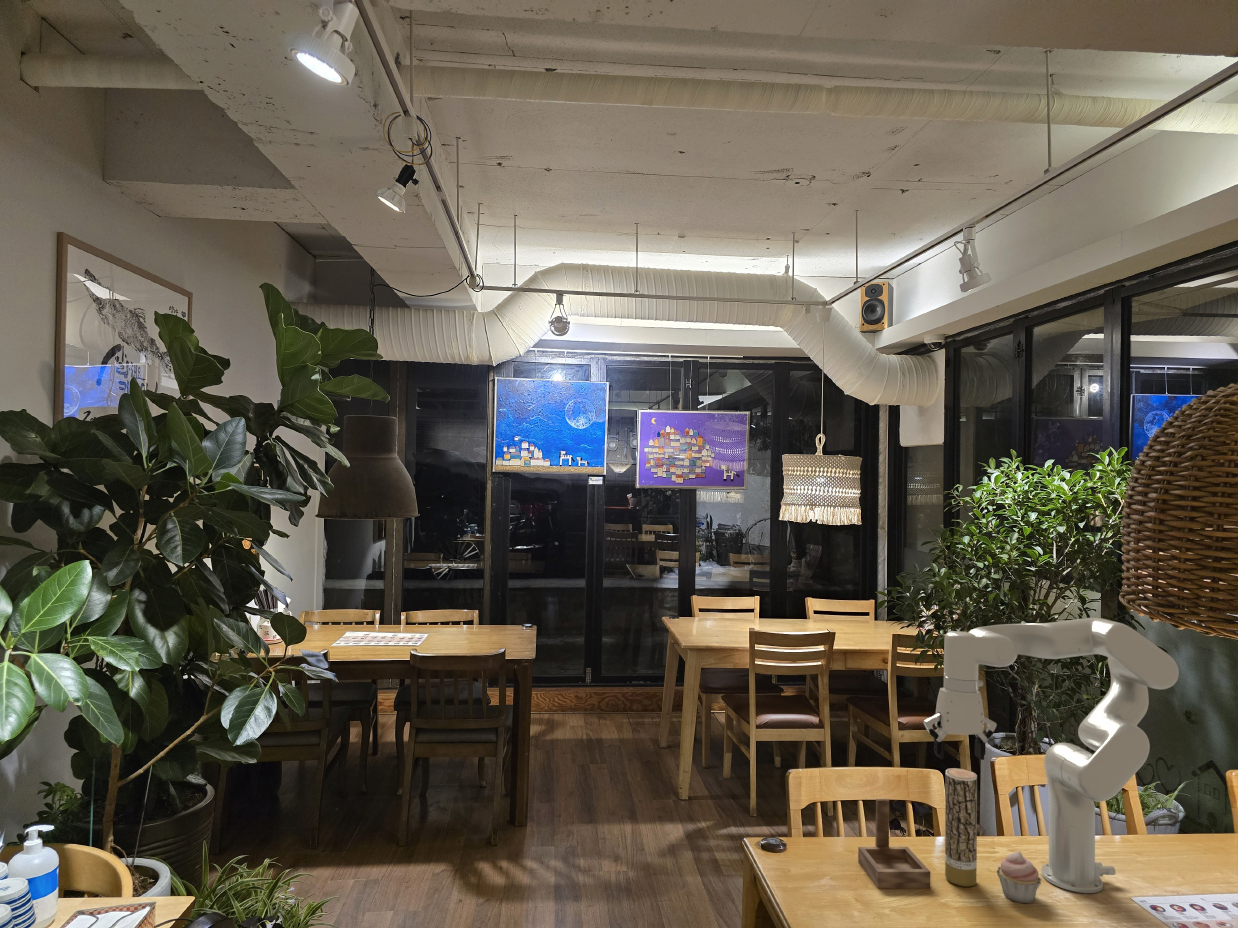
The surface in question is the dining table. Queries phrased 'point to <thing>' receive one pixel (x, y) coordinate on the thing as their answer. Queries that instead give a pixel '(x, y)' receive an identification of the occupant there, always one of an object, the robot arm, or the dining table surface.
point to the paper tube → (960, 827)
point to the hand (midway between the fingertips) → (959, 757)
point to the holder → (891, 858)
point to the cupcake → (1018, 878)
